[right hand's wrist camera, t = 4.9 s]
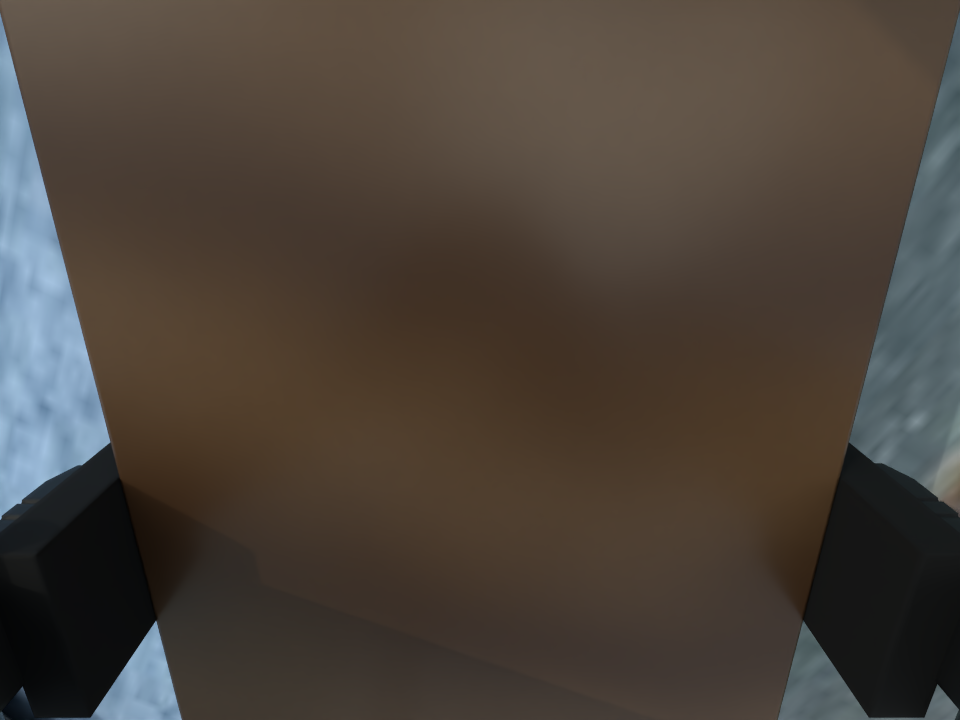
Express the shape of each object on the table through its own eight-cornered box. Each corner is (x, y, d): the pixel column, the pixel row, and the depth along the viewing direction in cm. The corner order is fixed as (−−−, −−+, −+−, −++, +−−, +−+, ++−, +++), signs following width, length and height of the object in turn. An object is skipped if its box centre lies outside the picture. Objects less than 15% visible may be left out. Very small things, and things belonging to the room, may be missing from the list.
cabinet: (210, -298, 11) (-298, -1127, 4) (749, -297, 11) (1257, -1125, 4) (308, 496, 18) (186, 748, 10) (651, 497, 18) (772, 748, 10)
